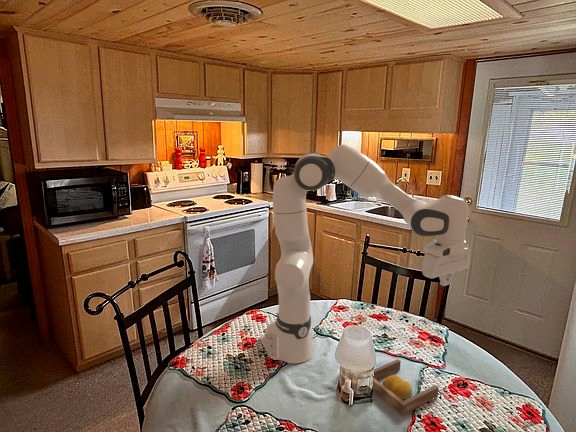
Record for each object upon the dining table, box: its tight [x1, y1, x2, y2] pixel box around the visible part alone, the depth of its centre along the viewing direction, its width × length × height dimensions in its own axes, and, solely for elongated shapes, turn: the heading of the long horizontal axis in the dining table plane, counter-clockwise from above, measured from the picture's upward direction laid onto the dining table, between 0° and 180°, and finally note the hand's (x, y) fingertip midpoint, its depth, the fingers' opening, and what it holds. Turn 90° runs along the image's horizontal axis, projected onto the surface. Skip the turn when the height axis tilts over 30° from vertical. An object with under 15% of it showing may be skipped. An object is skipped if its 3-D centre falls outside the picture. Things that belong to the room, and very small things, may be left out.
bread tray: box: [373, 358, 439, 416], centre depth 122 cm, size 16×15×4 cm
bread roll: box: [381, 374, 413, 400], centre depth 122 cm, size 8×9×4 cm
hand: (444, 284), depth 130 cm, fingers closed
